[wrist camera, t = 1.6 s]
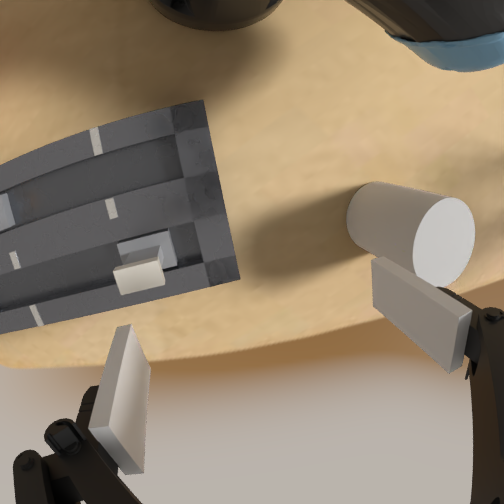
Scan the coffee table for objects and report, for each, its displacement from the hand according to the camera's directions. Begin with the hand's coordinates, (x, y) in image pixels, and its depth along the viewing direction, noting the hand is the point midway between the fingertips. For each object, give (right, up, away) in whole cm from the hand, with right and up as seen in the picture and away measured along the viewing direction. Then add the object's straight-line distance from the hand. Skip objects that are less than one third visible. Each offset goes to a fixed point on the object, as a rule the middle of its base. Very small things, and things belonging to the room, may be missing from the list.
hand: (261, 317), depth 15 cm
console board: (-19, +5, +14) cm, 24 cm away
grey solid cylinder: (+14, +7, +20) cm, 26 cm away
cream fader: (-10, +3, +15) cm, 18 cm away
